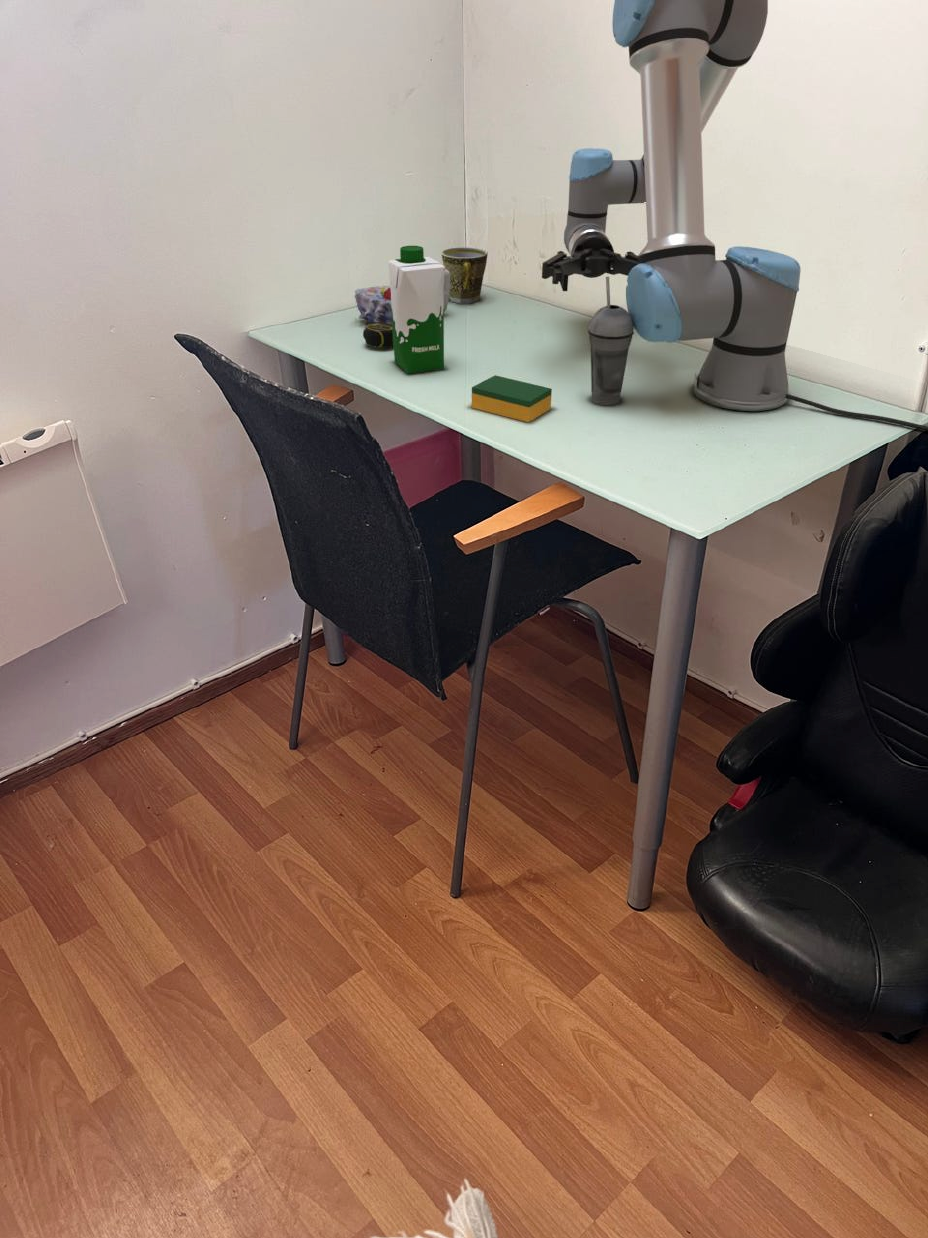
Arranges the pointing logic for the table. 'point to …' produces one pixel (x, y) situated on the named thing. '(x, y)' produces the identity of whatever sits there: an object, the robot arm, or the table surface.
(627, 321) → the beverage cup
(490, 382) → the sponge
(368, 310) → the cell model
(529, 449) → the table surface
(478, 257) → the ceramic cup
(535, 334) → the table surface
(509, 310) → the table surface
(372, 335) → the tape measure
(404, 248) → the milk carton
